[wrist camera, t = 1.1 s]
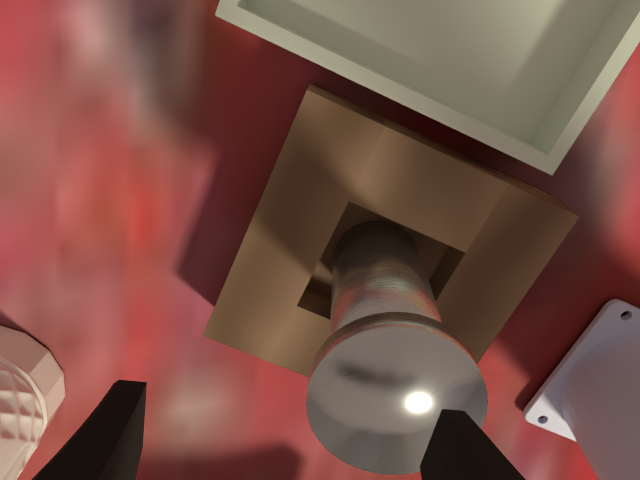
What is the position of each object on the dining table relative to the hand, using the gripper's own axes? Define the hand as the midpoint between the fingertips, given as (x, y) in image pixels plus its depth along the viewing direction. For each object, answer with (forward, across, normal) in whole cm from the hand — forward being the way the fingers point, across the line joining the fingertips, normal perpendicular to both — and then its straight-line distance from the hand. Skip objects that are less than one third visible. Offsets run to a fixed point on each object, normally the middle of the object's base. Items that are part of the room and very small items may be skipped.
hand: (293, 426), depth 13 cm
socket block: (+12, -5, +1) cm, 13 cm away
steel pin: (+12, -4, +1) cm, 13 cm away
